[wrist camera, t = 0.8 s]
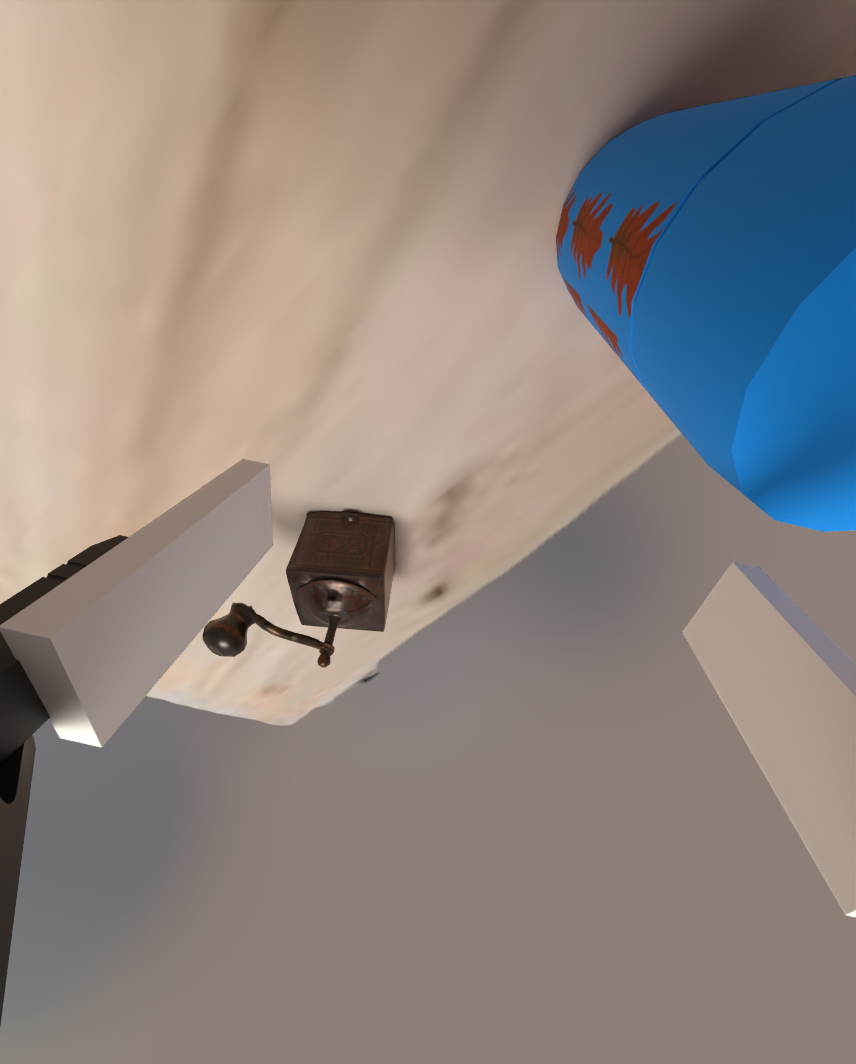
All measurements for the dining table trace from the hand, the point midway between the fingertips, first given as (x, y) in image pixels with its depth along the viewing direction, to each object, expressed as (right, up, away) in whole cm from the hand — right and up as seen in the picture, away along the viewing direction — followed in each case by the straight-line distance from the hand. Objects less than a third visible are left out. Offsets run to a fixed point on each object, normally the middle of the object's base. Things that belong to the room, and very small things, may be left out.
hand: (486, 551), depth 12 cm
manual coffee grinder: (-14, 0, +39) cm, 41 cm away
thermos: (+12, +22, +16) cm, 30 cm away
